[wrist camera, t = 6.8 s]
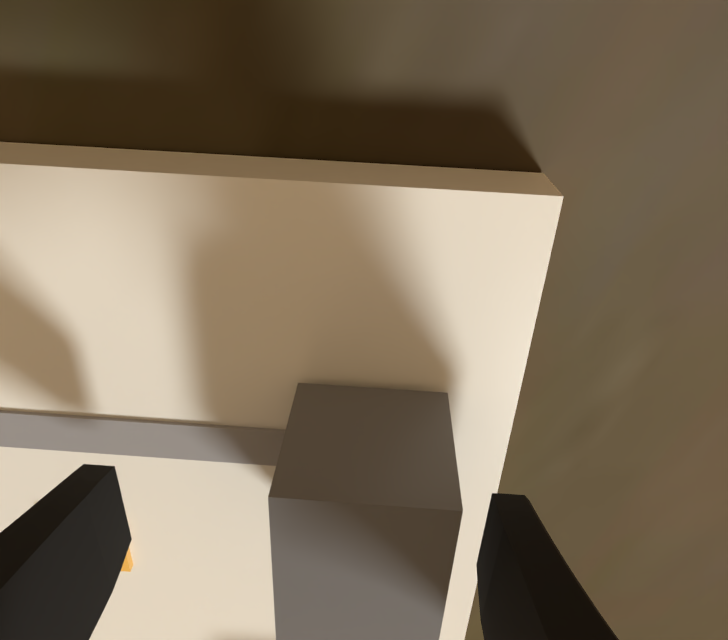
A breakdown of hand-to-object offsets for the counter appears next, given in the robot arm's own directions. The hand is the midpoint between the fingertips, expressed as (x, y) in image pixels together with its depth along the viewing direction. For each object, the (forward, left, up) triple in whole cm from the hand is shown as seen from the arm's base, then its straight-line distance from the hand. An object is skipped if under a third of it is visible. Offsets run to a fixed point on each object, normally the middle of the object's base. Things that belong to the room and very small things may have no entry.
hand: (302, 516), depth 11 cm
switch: (+1, 0, -2) cm, 2 cm away
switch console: (-2, -6, -3) cm, 7 cm away
